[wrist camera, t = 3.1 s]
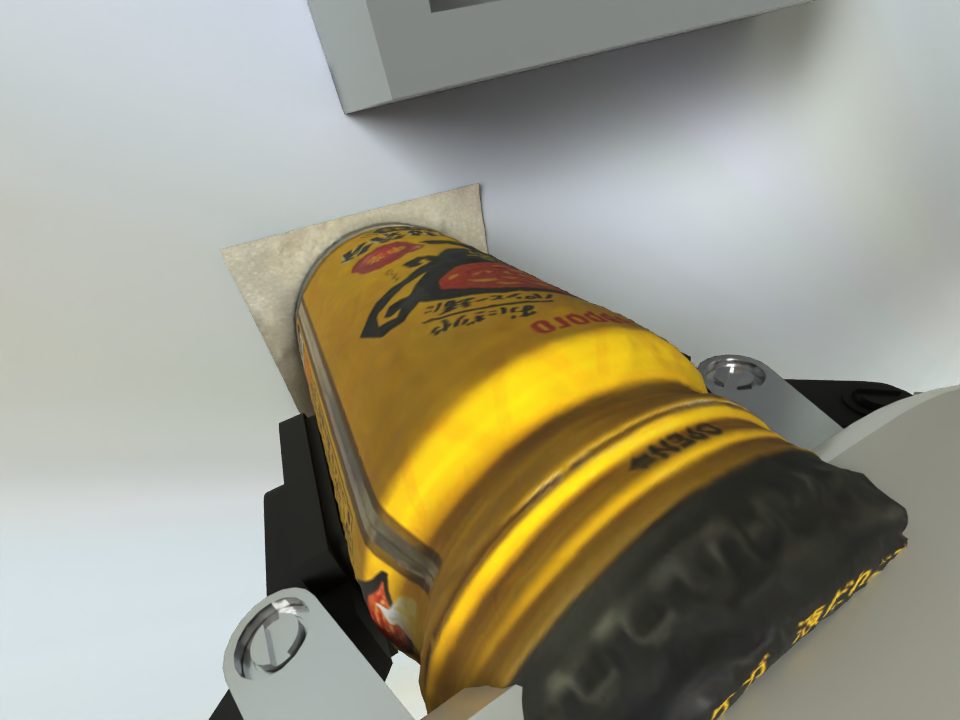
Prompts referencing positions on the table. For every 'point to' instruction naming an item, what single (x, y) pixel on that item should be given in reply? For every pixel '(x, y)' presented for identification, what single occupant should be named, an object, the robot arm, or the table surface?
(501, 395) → the condiment
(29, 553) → the table surface
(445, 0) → the box
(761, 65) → the table surface
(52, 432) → the table surface
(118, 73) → the table surface
